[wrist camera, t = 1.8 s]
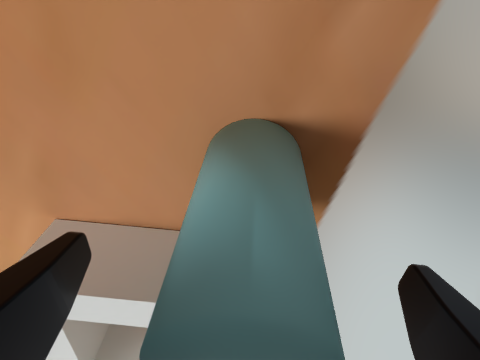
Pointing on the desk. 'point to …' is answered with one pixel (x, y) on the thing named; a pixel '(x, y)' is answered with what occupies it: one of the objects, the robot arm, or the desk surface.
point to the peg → (247, 260)
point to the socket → (112, 289)
